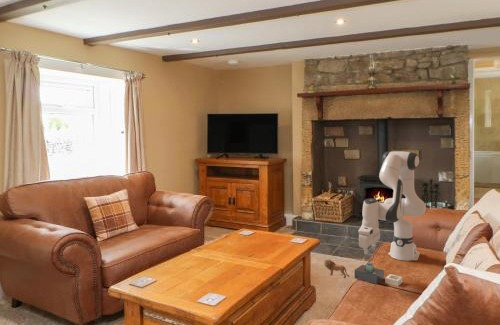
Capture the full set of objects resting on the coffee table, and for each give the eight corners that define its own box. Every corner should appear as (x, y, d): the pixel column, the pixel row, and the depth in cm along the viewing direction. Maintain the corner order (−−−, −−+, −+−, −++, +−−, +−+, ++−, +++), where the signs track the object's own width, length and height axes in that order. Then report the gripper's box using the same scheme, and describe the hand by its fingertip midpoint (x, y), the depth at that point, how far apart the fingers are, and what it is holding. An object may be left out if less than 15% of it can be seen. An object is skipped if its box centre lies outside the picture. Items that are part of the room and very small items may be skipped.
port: (362, 273, 231) (362, 264, 230) (383, 278, 223) (384, 269, 222) (354, 278, 223) (354, 269, 223) (376, 284, 215) (376, 274, 214)
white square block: (390, 279, 222) (390, 274, 221) (402, 282, 217) (402, 277, 217) (385, 283, 216) (385, 277, 216) (397, 286, 212) (398, 281, 212)
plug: (367, 276, 225) (368, 261, 224) (372, 278, 223) (373, 262, 222) (365, 278, 223) (366, 263, 222) (370, 279, 221) (371, 264, 220)
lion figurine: (323, 275, 228) (323, 260, 227) (325, 272, 233) (325, 257, 232) (348, 279, 223) (349, 263, 222) (350, 275, 227) (350, 260, 226)
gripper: (372, 222, 230) (372, 245, 232) (356, 231, 215) (356, 255, 216) (383, 224, 226) (382, 247, 227) (367, 233, 210) (367, 257, 212)
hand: (369, 251), depth 222 cm, fingers open, 8 cm apart
